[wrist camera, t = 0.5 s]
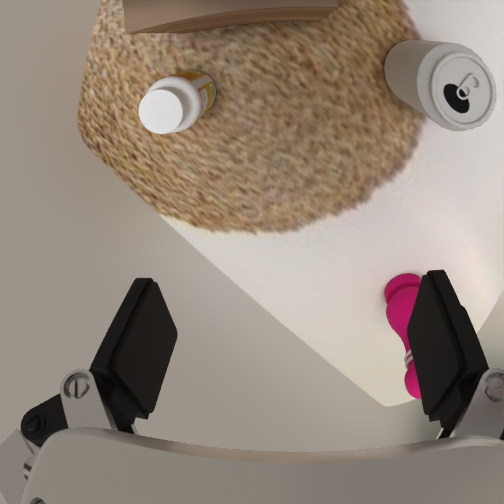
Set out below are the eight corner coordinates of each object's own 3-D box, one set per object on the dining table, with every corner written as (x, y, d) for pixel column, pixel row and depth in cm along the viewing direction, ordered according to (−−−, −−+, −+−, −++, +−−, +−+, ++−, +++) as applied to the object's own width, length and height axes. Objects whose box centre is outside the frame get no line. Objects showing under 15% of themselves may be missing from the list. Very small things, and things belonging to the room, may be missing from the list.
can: (368, 74, 28) (406, 91, 18) (406, 26, 23) (460, 24, 14) (418, 117, 29) (467, 155, 20) (454, 72, 25) (517, 95, 16)
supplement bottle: (160, 90, 31) (119, 110, 23) (195, 59, 29) (161, 67, 21) (190, 124, 33) (159, 154, 26) (226, 95, 31) (204, 115, 23)
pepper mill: (372, 297, 46) (392, 417, 30) (399, 264, 42) (436, 388, 26) (406, 309, 47) (431, 420, 31) (433, 279, 43) (472, 394, 27)
